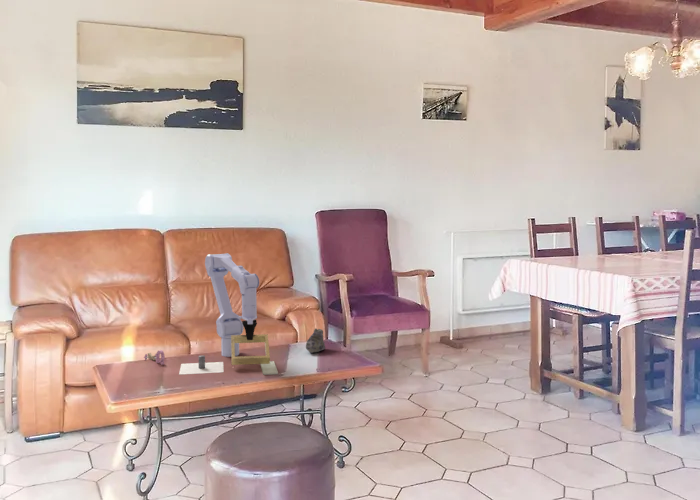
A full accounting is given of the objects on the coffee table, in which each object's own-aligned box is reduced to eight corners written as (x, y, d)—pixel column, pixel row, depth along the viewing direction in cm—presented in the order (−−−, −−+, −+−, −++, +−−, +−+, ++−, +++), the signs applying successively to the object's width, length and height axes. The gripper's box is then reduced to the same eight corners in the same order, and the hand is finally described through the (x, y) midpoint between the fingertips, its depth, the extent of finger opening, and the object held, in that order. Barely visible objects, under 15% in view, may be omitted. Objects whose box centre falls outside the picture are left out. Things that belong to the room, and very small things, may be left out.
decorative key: (145, 366, 268) (165, 367, 253) (143, 366, 268) (162, 368, 252) (144, 349, 269) (164, 350, 253) (141, 349, 268) (161, 350, 253)
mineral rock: (309, 356, 274) (309, 332, 273) (294, 351, 282) (294, 328, 281) (333, 351, 282) (333, 328, 281) (318, 347, 290) (318, 324, 290)
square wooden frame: (231, 341, 257) (231, 335, 256) (267, 340, 260) (267, 334, 258) (231, 365, 245) (231, 358, 244) (269, 363, 248) (269, 357, 246)
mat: (228, 364, 259) (228, 363, 259) (273, 362, 262) (273, 361, 262) (229, 376, 241) (229, 375, 241) (277, 374, 245) (277, 372, 245)
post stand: (181, 367, 254) (181, 352, 254) (223, 365, 257) (223, 350, 257) (179, 378, 239) (178, 362, 238) (223, 376, 242) (223, 360, 241)
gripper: (238, 302, 263) (238, 336, 263) (239, 308, 248) (239, 343, 249) (256, 302, 264) (256, 335, 265) (258, 307, 250) (258, 342, 251)
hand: (249, 339), depth 257 cm, fingers closed on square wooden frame, 2 cm apart
